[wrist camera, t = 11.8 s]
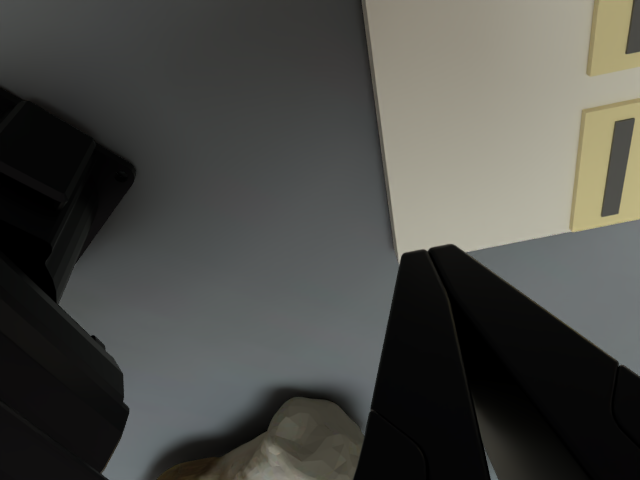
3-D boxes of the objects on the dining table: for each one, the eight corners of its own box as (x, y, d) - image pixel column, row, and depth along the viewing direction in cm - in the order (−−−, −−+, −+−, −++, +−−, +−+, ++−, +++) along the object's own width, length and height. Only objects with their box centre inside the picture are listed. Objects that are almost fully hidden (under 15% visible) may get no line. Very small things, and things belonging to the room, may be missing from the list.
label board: (393, 248, 26) (400, 270, 24) (352, -66, 18) (359, -57, 16) (724, 183, 25) (749, 202, 24) (831, -172, 17) (878, -172, 16)
